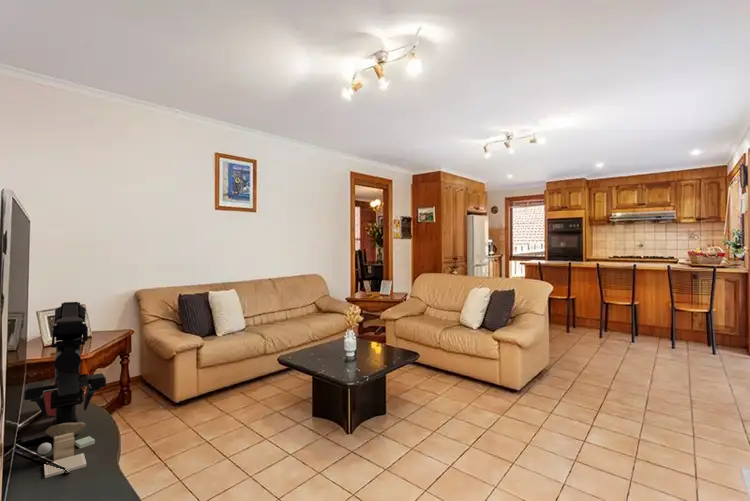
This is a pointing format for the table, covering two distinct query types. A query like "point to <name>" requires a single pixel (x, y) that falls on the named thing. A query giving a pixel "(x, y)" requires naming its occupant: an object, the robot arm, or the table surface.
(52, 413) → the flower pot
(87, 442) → the tile
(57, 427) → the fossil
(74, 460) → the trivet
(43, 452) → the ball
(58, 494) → the table surface
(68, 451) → the block
